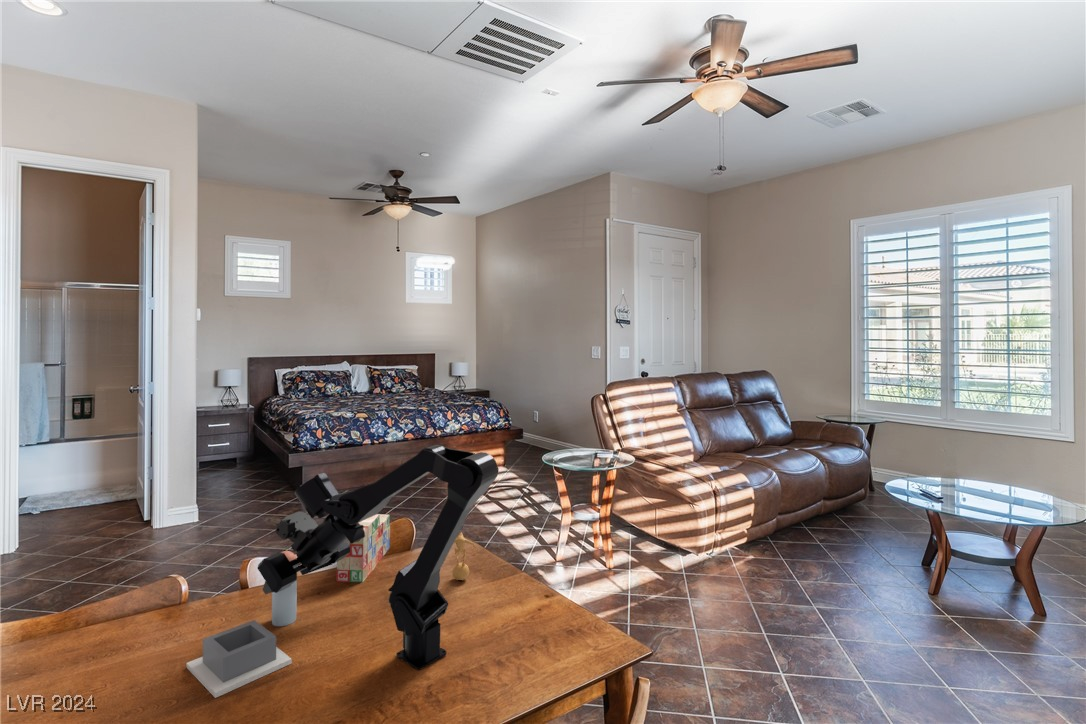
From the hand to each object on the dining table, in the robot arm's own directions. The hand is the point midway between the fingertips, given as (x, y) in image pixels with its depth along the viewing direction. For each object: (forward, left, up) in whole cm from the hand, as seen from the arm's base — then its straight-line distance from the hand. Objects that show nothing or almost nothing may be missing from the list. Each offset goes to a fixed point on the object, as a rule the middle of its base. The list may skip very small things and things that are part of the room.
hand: (283, 581), depth 107 cm
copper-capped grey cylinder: (0, 0, -8) cm, 8 cm away
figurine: (-13, -35, -8) cm, 38 cm away
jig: (-9, +12, -8) cm, 17 cm away
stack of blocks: (+12, -26, -8) cm, 30 cm away
